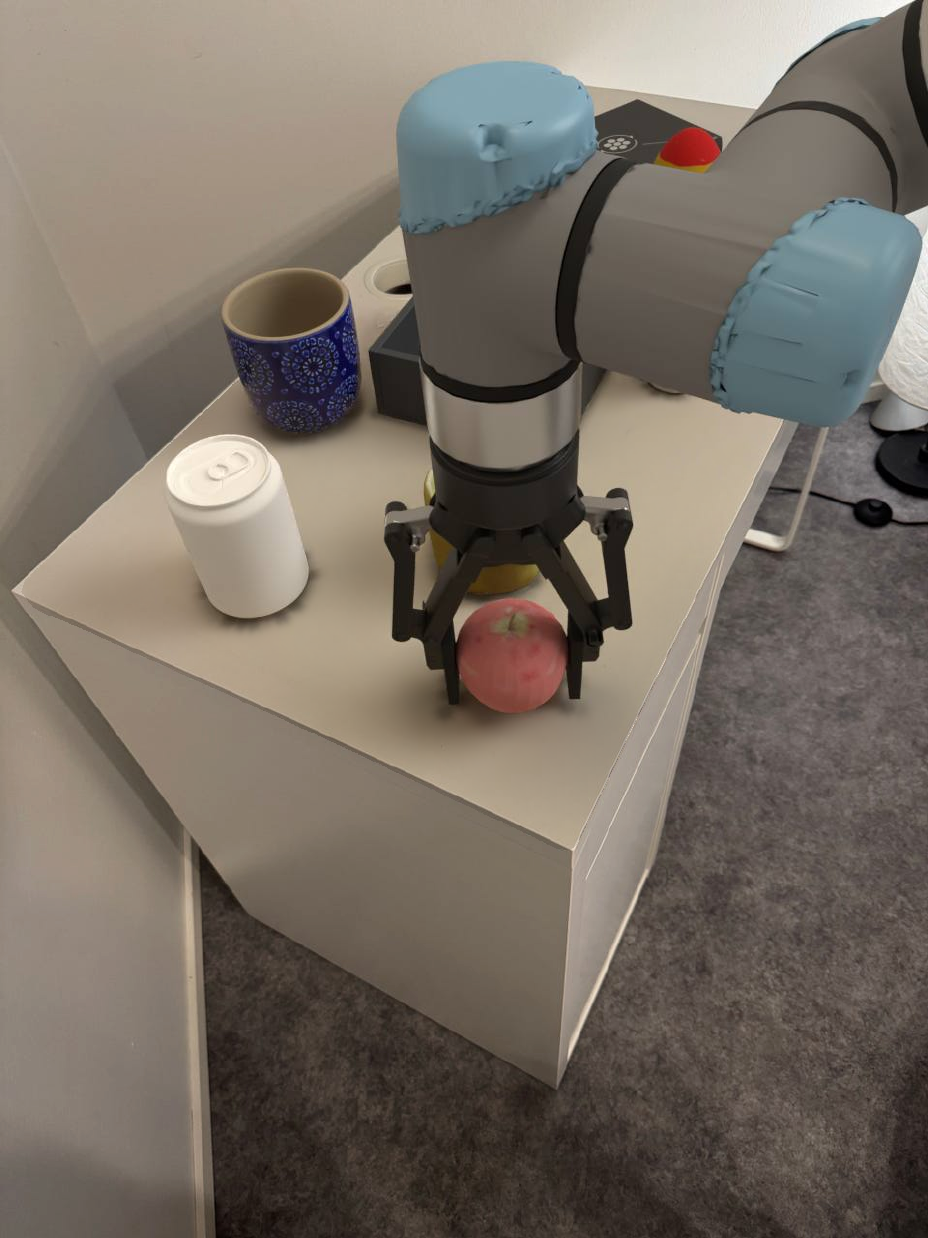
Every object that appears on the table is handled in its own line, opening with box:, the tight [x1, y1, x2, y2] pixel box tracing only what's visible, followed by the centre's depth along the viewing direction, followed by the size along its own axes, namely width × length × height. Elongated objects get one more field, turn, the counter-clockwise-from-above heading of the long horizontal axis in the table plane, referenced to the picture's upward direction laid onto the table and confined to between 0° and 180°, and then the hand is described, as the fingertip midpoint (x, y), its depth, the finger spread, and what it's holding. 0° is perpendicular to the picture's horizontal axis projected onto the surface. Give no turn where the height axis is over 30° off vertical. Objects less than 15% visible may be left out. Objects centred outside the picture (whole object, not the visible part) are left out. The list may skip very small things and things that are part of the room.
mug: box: [423, 467, 540, 596], centre depth 69 cm, size 12×10×10 cm
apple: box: [455, 597, 569, 714], centre depth 59 cm, size 7×7×8 cm
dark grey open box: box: [367, 295, 608, 426], centre depth 82 cm, size 18×17×7 cm
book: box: [594, 98, 724, 164], centre depth 107 cm, size 22×15×3 cm
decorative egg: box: [654, 127, 721, 174], centre depth 96 cm, size 8×8×10 cm
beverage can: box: [164, 433, 310, 619], centre depth 66 cm, size 8×8×12 cm
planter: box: [220, 267, 363, 434], centre depth 79 cm, size 11×11×11 cm
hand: (513, 685), depth 62 cm, fingers closed on apple, 7 cm apart
